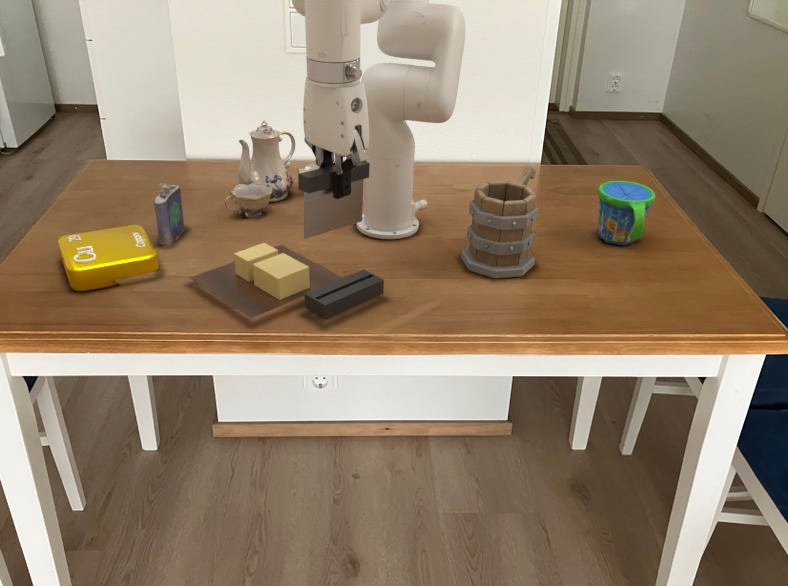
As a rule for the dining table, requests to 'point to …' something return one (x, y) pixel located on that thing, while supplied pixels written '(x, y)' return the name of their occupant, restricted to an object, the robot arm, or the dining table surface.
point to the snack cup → (623, 211)
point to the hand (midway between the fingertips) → (335, 192)
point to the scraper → (330, 200)
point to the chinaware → (263, 172)
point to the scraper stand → (344, 293)
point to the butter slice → (252, 259)
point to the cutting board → (251, 296)
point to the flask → (169, 214)
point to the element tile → (106, 256)
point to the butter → (281, 276)
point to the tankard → (502, 228)
